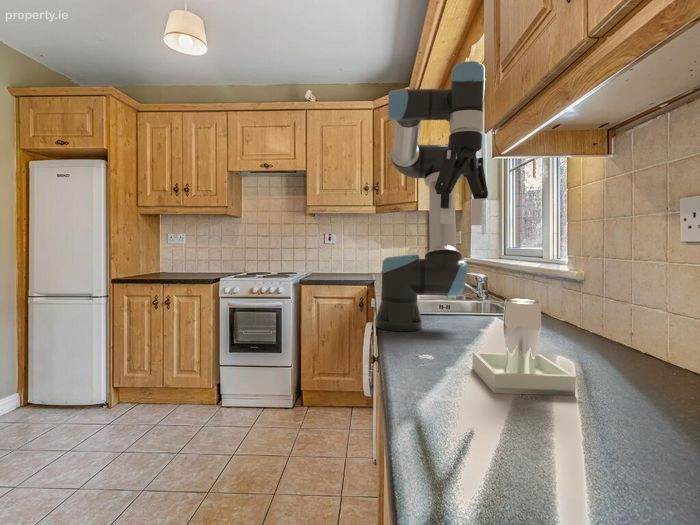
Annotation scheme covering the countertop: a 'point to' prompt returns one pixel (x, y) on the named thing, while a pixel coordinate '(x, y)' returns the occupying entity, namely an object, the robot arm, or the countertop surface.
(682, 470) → the countertop surface
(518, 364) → the beer glass
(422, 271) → the robot arm
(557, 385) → the tray
